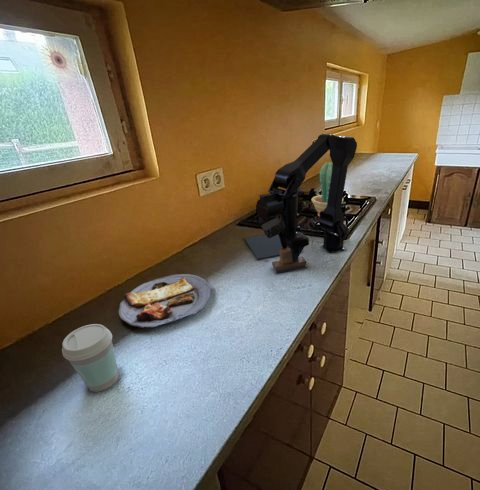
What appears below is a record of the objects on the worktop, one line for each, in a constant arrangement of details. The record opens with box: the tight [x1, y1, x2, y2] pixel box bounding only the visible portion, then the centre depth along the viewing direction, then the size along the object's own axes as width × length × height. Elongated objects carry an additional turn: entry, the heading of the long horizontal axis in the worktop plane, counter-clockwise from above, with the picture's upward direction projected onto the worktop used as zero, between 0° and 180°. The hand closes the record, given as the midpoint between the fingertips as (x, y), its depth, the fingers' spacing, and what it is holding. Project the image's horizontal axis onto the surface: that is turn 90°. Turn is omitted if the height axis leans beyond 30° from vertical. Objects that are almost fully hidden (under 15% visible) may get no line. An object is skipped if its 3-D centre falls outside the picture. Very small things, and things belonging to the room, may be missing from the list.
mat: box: [244, 234, 288, 261], centre depth 119 cm, size 17×20×1 cm
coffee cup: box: [61, 323, 120, 393], centre depth 60 cm, size 8×8×12 cm
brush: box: [271, 248, 308, 274], centre depth 101 cm, size 11×4×7 cm, turn 108°
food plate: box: [117, 273, 211, 329], centre depth 86 cm, size 25×23×4 cm
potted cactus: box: [311, 161, 345, 218], centre depth 142 cm, size 15×15×25 cm
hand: (289, 255), depth 100 cm, fingers open, 9 cm apart
